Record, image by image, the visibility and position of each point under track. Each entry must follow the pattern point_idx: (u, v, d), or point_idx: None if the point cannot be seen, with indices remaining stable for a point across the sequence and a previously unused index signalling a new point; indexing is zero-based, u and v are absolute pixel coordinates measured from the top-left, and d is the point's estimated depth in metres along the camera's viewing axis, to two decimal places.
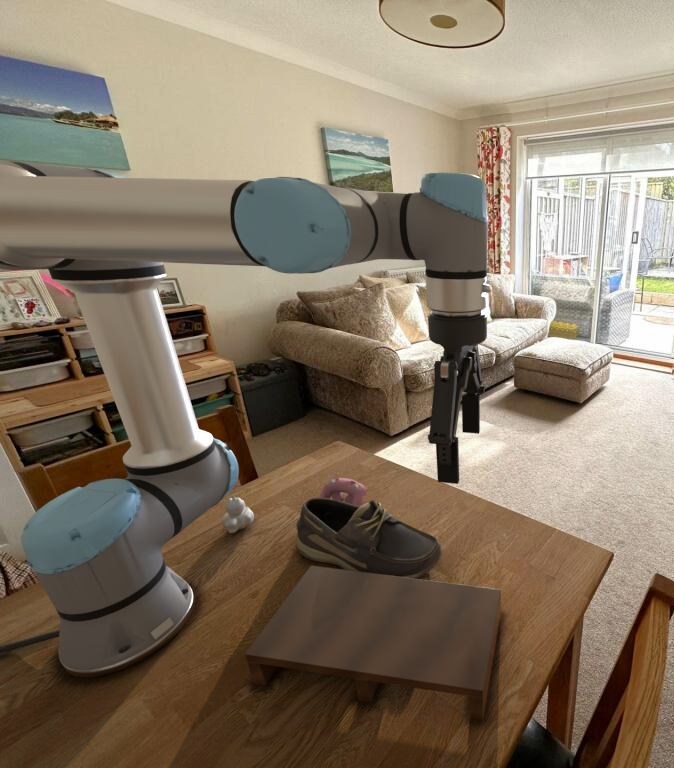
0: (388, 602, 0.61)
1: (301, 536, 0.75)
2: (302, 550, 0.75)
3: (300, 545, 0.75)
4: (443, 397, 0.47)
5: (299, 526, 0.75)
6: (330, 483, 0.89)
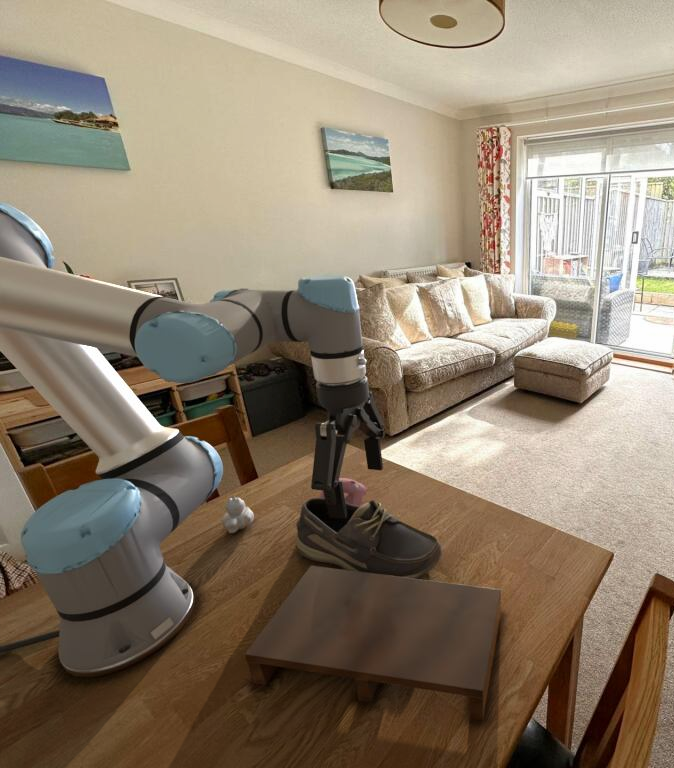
0: (388, 602, 0.61)
1: (301, 536, 0.75)
2: (302, 550, 0.75)
3: (300, 545, 0.75)
4: (322, 452, 0.59)
5: (299, 526, 0.75)
6: None
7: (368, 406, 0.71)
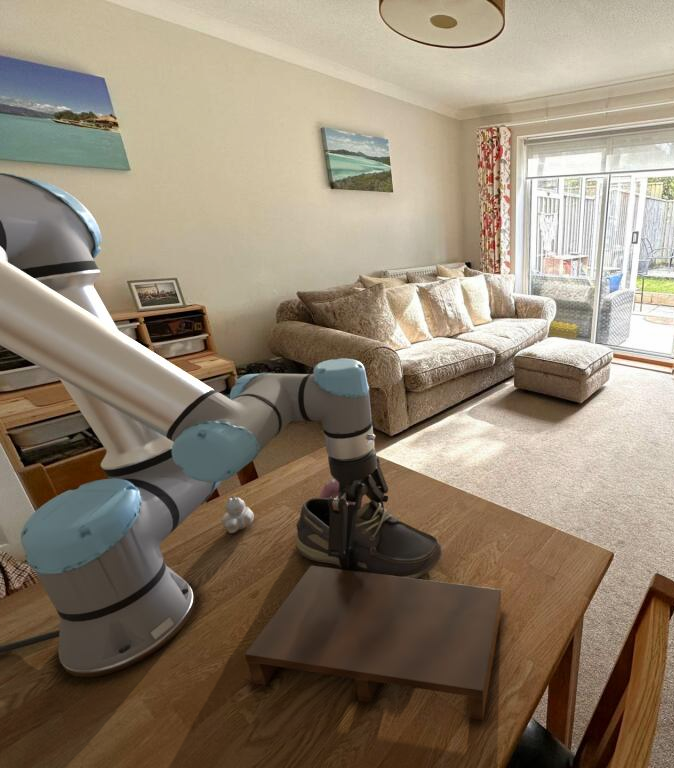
0: (388, 602, 0.61)
1: (301, 536, 0.75)
2: (302, 550, 0.75)
3: (300, 545, 0.75)
4: (336, 525, 0.64)
5: (299, 526, 0.75)
6: (330, 483, 0.89)
7: (374, 471, 0.76)
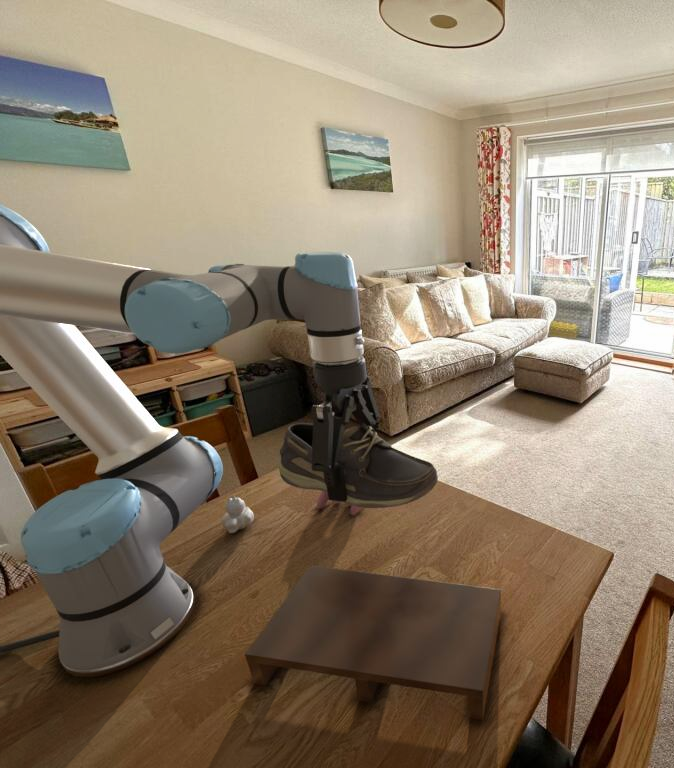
0: (388, 602, 0.61)
1: (284, 461, 0.69)
2: (285, 476, 0.69)
3: (284, 471, 0.69)
4: (320, 435, 0.58)
5: (282, 451, 0.69)
6: None
7: (365, 392, 0.70)
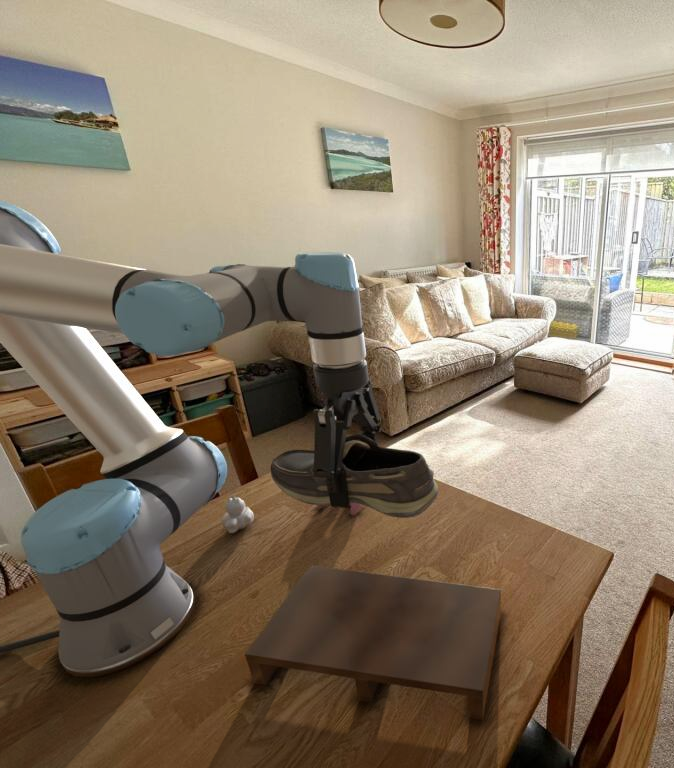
0: (388, 602, 0.61)
1: None
2: None
3: None
4: None
5: None
6: None
7: None
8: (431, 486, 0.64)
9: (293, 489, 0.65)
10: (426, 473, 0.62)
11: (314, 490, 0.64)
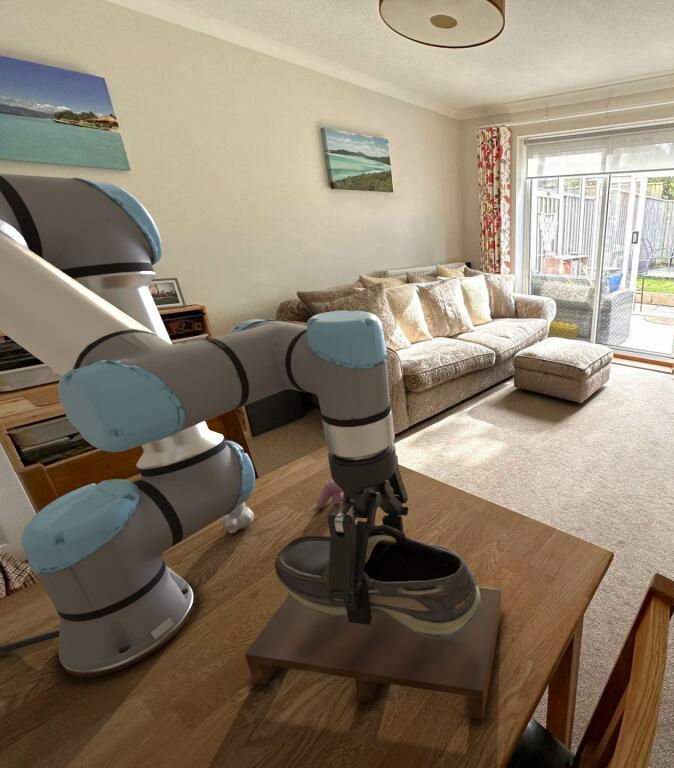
0: None
1: None
2: None
3: None
4: None
5: None
6: (330, 483, 0.89)
7: None
8: (473, 597, 0.51)
9: (302, 595, 0.53)
10: (468, 584, 0.49)
11: (327, 599, 0.51)
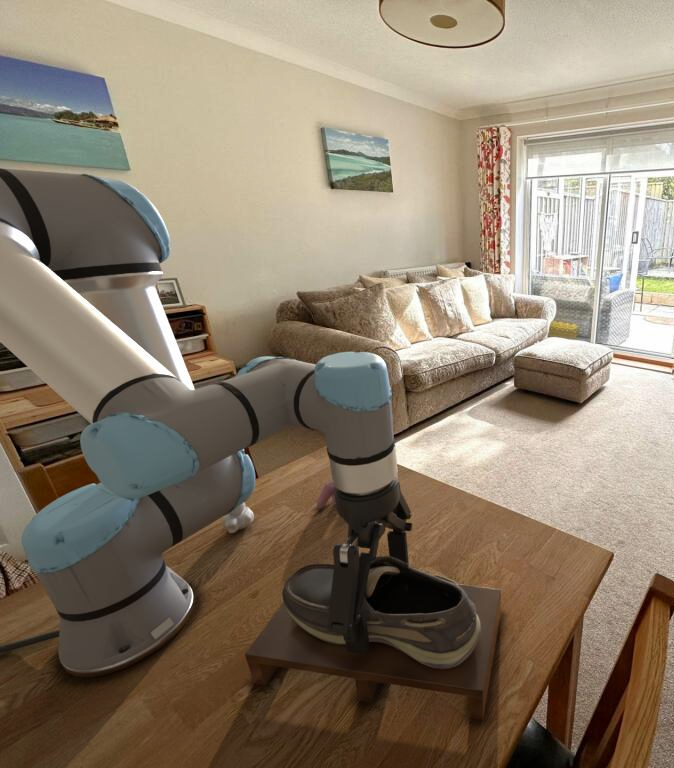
0: None
1: None
2: None
3: None
4: None
5: (468, 598, 0.55)
6: (330, 483, 0.89)
7: None
8: (474, 627, 0.53)
9: (309, 624, 0.55)
10: (469, 615, 0.51)
11: None
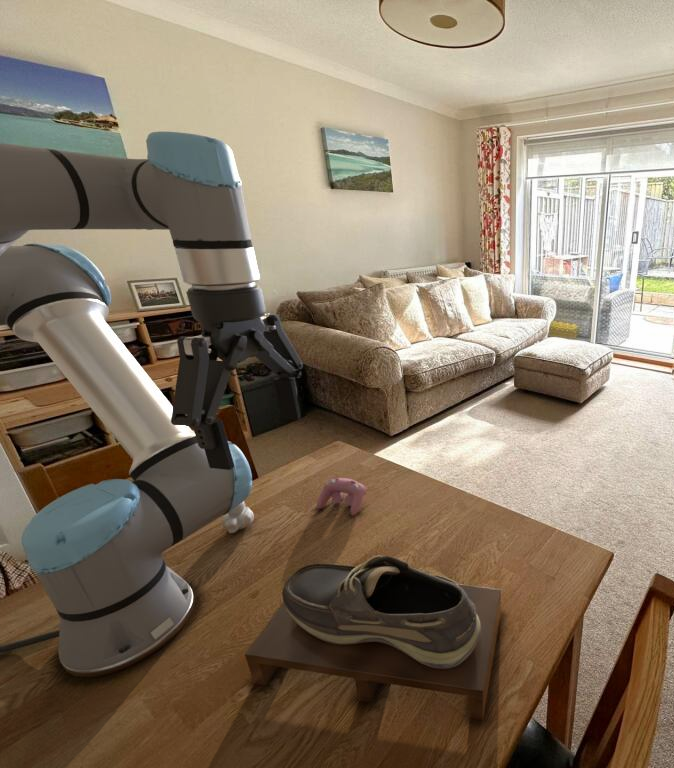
0: None
1: None
2: None
3: None
4: None
5: (468, 598, 0.55)
6: (330, 483, 0.89)
7: None
8: (474, 627, 0.53)
9: (309, 624, 0.55)
10: (469, 615, 0.51)
11: (333, 629, 0.53)
